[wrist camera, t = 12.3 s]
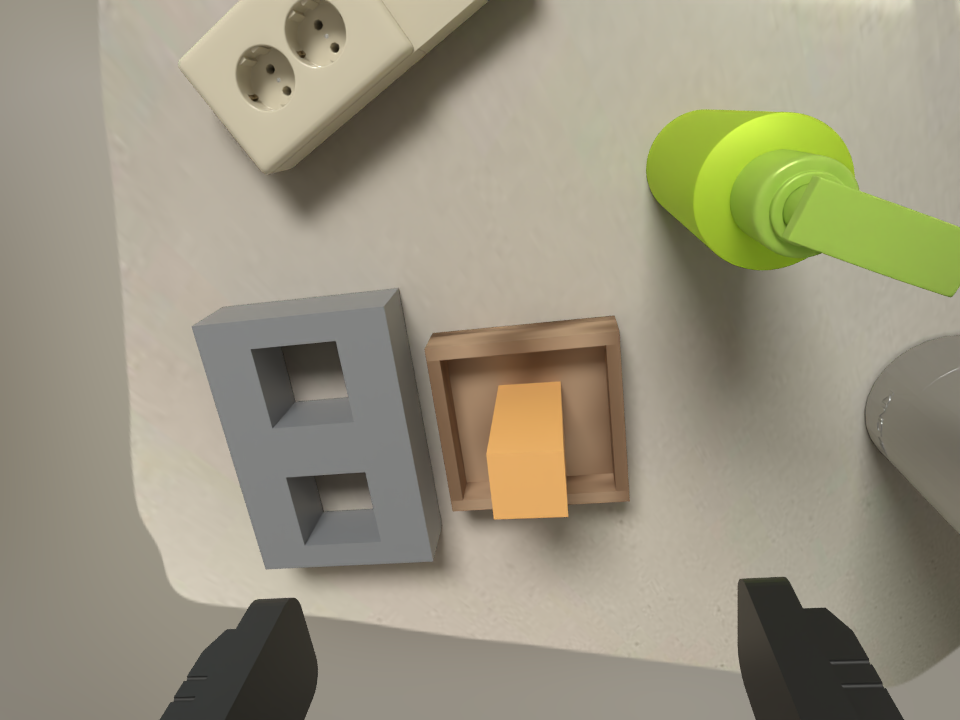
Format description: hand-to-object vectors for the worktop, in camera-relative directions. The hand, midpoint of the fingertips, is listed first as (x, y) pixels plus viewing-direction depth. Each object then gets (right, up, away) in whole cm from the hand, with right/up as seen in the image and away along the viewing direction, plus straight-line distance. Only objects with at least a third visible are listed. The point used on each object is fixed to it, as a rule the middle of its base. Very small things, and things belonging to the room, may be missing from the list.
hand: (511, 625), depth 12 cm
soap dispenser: (+12, +16, +25) cm, 32 cm away
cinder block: (-10, +1, +33) cm, 35 cm away
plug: (+3, +2, +31) cm, 31 cm away
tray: (+3, +2, +32) cm, 32 cm away
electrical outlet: (-7, +24, +24) cm, 35 cm away
